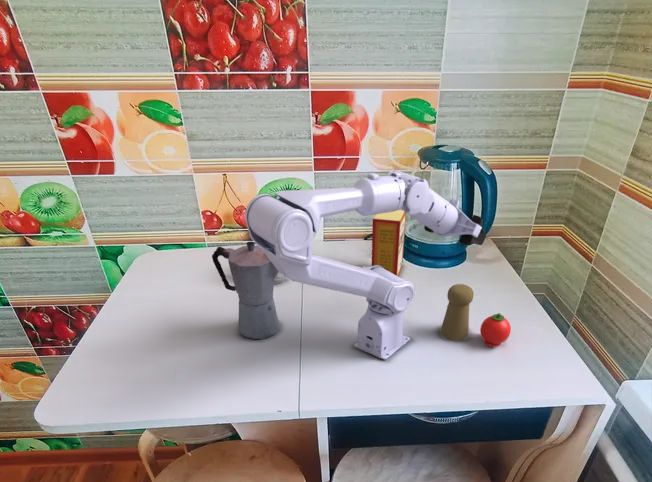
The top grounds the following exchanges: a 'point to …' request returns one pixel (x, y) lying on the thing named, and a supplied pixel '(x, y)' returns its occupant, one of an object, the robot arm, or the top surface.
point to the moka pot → (251, 289)
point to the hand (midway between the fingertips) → (468, 235)
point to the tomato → (495, 330)
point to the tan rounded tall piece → (457, 313)
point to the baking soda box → (388, 240)
